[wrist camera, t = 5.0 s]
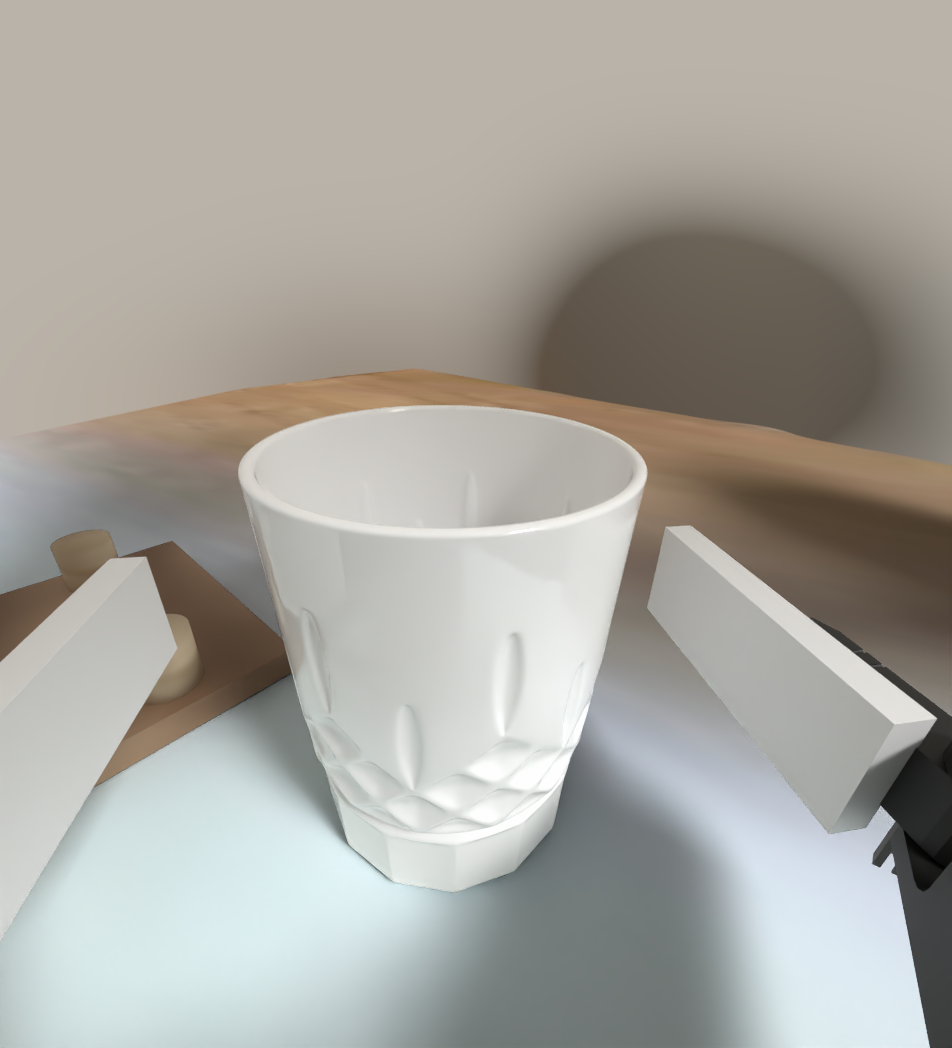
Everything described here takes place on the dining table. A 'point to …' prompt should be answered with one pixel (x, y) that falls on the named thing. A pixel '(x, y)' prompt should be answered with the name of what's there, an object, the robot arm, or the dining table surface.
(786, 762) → the robot arm
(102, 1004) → the dining table surface
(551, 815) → the white cup
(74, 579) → the holder
